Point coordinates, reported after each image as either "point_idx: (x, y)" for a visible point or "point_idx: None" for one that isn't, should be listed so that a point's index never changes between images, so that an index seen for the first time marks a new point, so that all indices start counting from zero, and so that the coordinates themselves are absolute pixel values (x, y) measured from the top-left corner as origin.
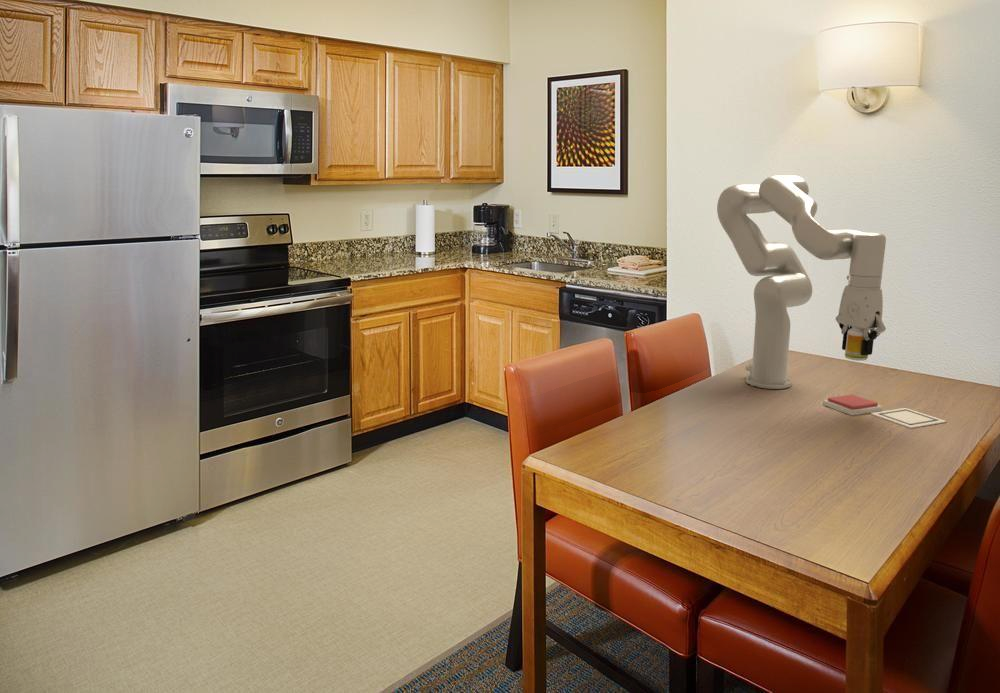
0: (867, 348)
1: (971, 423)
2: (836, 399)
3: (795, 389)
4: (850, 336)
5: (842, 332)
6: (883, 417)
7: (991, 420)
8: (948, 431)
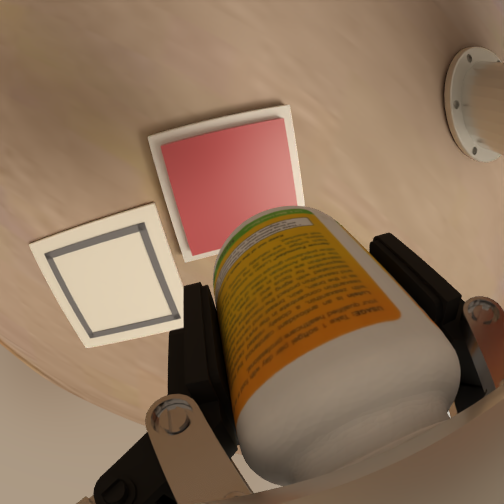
0: (173, 347)
1: (88, 380)
2: (258, 137)
3: (434, 134)
4: (349, 314)
5: (487, 307)
6: (108, 218)
7: (112, 412)
8: (25, 312)
